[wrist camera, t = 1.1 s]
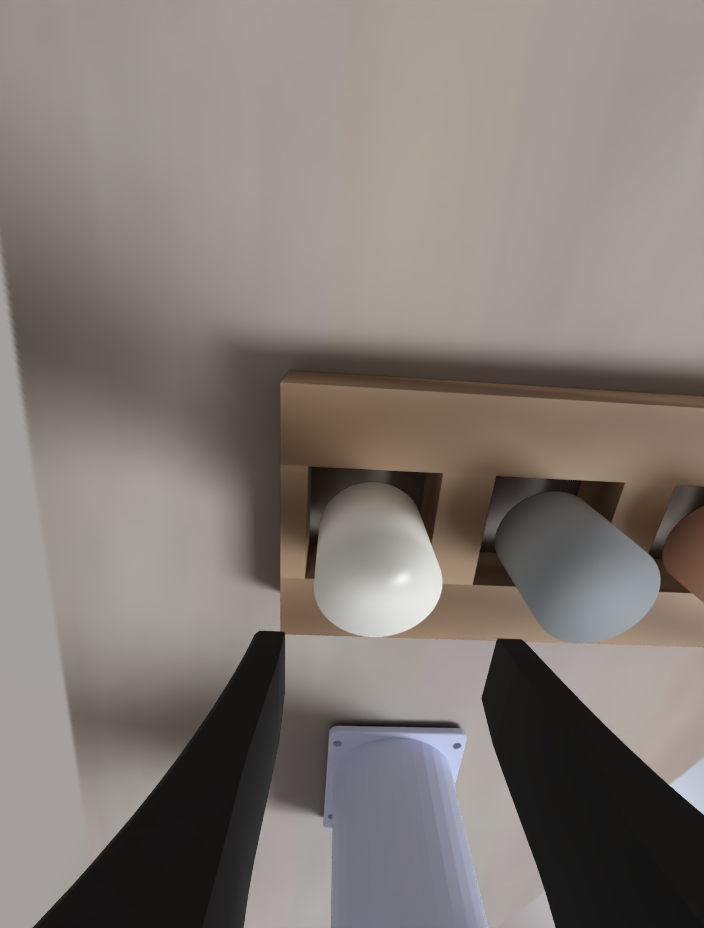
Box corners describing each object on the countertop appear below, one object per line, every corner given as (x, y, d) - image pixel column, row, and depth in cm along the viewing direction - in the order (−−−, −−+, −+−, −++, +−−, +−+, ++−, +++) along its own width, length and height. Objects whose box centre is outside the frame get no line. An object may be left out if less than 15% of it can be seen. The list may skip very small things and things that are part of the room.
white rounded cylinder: (414, 572, 17) (432, 638, 13) (317, 569, 16) (311, 634, 13) (428, 484, 15) (451, 535, 12) (321, 479, 15) (315, 529, 12)
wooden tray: (693, 610, 21) (737, 648, 19) (287, 595, 20) (280, 634, 18) (793, 401, 17) (865, 418, 15) (289, 370, 16) (280, 382, 14)
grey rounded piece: (579, 579, 17) (636, 645, 14) (486, 575, 17) (521, 641, 14) (608, 493, 15) (679, 544, 12) (506, 488, 15) (550, 539, 12)
